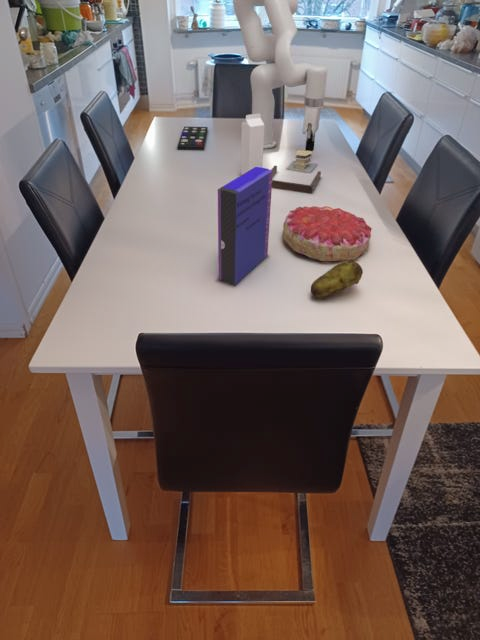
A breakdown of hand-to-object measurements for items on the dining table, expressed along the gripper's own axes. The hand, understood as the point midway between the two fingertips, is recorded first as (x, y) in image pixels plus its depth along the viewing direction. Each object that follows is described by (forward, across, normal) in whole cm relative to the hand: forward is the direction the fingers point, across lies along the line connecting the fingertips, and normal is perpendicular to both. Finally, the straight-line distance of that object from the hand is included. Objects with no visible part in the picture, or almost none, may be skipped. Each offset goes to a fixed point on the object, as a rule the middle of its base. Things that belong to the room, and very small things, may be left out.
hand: (309, 150), depth 190 cm
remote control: (+3, -7, -54) cm, 55 cm away
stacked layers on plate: (+4, +11, 0) cm, 11 cm away
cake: (+4, +71, +19) cm, 74 cm away
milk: (+4, +28, -16) cm, 32 cm away
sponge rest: (+4, +28, 0) cm, 28 cm away
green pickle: (+4, +96, +26) cm, 100 cm away
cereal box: (+4, +92, +1) cm, 93 cm away
